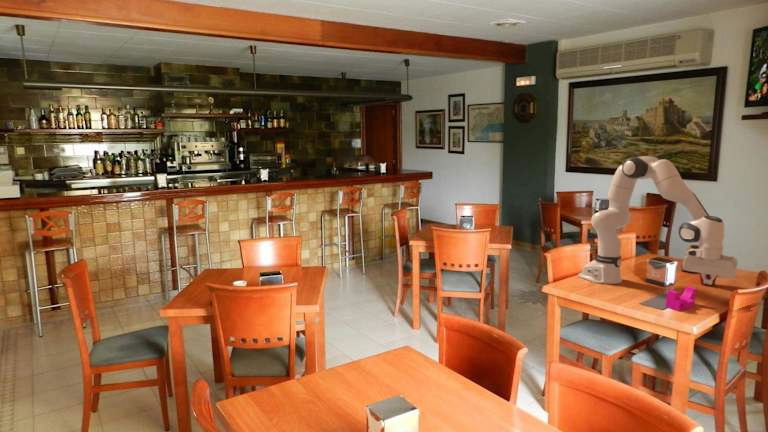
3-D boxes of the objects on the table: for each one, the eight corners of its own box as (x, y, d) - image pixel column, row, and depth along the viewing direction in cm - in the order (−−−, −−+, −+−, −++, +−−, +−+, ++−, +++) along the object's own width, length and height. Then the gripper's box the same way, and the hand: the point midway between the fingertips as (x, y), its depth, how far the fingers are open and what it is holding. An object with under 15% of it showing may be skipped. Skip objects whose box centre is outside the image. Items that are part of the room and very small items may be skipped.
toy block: (678, 310, 225) (680, 295, 224) (665, 306, 231) (667, 290, 229) (699, 305, 232) (701, 290, 230) (686, 301, 237) (688, 286, 236)
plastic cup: (715, 289, 255) (718, 266, 253) (692, 284, 263) (694, 262, 261) (723, 285, 261) (725, 262, 259) (700, 280, 270) (702, 258, 268)
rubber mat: (639, 303, 235) (639, 303, 235) (663, 293, 249) (663, 292, 249) (662, 310, 227) (662, 309, 227) (685, 298, 241) (685, 298, 241)
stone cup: (698, 275, 279) (700, 249, 277) (676, 270, 289) (678, 245, 287) (711, 270, 288) (713, 245, 285) (689, 266, 297) (691, 241, 295)
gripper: (740, 256, 213) (737, 287, 215) (688, 248, 229) (686, 277, 232) (735, 258, 210) (732, 290, 212) (682, 250, 226) (680, 280, 228)
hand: (707, 283), depth 222 cm, fingers closed
